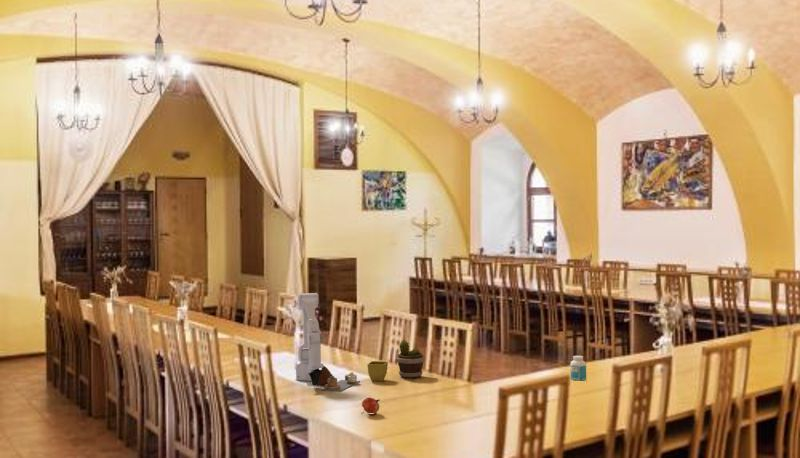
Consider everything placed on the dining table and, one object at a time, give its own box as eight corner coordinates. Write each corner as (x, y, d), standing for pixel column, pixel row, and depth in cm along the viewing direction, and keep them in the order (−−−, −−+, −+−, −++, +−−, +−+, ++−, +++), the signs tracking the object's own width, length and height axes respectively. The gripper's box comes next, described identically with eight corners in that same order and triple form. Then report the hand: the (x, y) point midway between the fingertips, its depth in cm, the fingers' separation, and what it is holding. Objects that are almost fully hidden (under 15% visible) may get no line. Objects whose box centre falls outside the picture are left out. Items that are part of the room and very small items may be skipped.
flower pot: (384, 382, 394) (384, 364, 394) (367, 382, 396) (367, 364, 396) (388, 379, 403) (388, 361, 403) (371, 378, 405) (371, 361, 405)
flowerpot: (429, 375, 411) (429, 336, 411) (417, 381, 397) (417, 340, 397) (404, 373, 418) (403, 335, 417) (391, 378, 404) (391, 339, 403)
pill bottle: (585, 382, 388) (585, 355, 388) (587, 385, 381) (587, 357, 381) (569, 382, 389) (569, 355, 389) (571, 385, 382) (571, 357, 382)
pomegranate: (361, 422, 327) (379, 408, 324) (352, 406, 329) (370, 393, 326) (369, 419, 334) (387, 406, 331) (360, 404, 336) (378, 391, 333)
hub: (345, 383, 392) (345, 373, 392) (349, 381, 396) (349, 371, 396) (354, 383, 391) (354, 373, 390) (357, 381, 395) (357, 371, 395)
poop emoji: (318, 386, 387) (318, 367, 387) (312, 383, 394) (311, 364, 394) (337, 384, 391) (337, 365, 391) (330, 381, 399) (330, 363, 399)
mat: (321, 390, 378) (321, 389, 378) (341, 380, 401) (341, 379, 401) (340, 391, 375) (340, 390, 375) (360, 381, 397) (360, 380, 397)
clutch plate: (343, 379, 394) (343, 375, 394) (352, 378, 397) (352, 373, 397) (349, 381, 389) (349, 376, 389) (359, 379, 393) (358, 375, 393)
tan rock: (322, 388, 379) (322, 377, 379) (328, 385, 386) (328, 374, 386) (336, 389, 377) (336, 378, 377) (342, 386, 384) (342, 375, 384)
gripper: (315, 360, 376) (316, 388, 376) (328, 354, 390) (329, 382, 390) (302, 359, 379) (302, 387, 379) (315, 354, 392) (316, 381, 392)
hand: (315, 385), depth 384 cm, fingers closed
